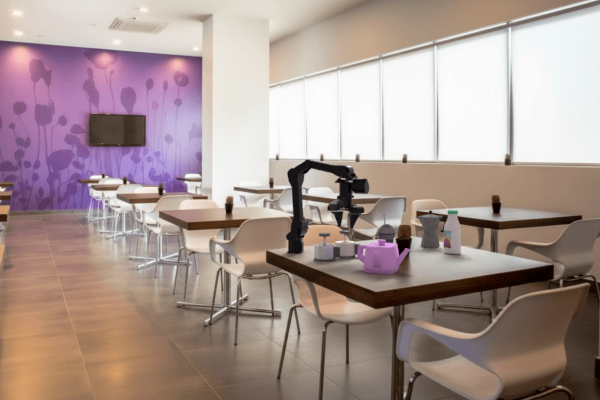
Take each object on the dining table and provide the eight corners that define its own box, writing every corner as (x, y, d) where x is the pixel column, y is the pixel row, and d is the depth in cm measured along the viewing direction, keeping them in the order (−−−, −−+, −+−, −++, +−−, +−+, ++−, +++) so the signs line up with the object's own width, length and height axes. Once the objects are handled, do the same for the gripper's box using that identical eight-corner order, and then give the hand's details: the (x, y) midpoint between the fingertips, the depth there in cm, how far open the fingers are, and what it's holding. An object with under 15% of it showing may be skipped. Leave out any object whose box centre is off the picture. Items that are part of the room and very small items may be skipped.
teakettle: (387, 265, 238) (388, 235, 237) (412, 272, 223) (412, 241, 222) (352, 268, 231) (352, 238, 230) (374, 276, 216) (374, 244, 215)
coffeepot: (415, 247, 282) (415, 210, 281) (418, 244, 291) (418, 209, 290) (447, 248, 277) (447, 211, 275) (449, 245, 286) (449, 210, 284)
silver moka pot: (311, 260, 247) (311, 246, 247) (317, 257, 256) (317, 242, 256) (337, 262, 244) (337, 247, 244) (342, 258, 253) (342, 243, 252)
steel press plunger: (317, 248, 248) (317, 234, 248) (320, 246, 253) (320, 232, 253) (328, 248, 247) (328, 234, 246) (331, 246, 252) (331, 232, 251)
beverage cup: (394, 261, 245) (394, 215, 244) (377, 260, 247) (377, 214, 245) (395, 258, 253) (395, 213, 251) (378, 257, 254) (378, 213, 252)
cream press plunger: (338, 245, 256) (338, 231, 255) (340, 243, 261) (340, 230, 260) (349, 245, 254) (349, 232, 254) (351, 243, 259) (351, 230, 259)
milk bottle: (459, 251, 268) (459, 209, 267) (462, 254, 261) (462, 211, 259) (442, 251, 269) (442, 209, 267) (444, 254, 261) (445, 210, 260)
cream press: (332, 257, 255) (332, 243, 254) (337, 254, 264) (337, 240, 263) (358, 258, 252) (358, 244, 251) (361, 255, 261) (362, 241, 260)
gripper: (318, 192, 258) (318, 227, 259) (346, 195, 244) (346, 231, 245) (336, 191, 265) (336, 225, 266) (365, 194, 251) (365, 229, 252)
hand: (345, 227), depth 257 cm, fingers open, 8 cm apart
